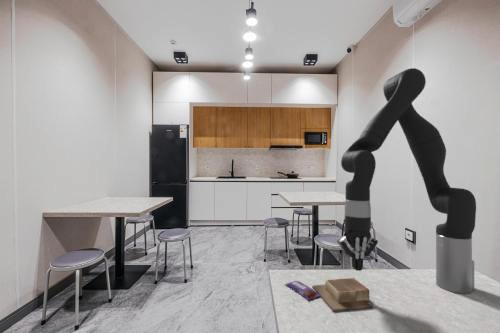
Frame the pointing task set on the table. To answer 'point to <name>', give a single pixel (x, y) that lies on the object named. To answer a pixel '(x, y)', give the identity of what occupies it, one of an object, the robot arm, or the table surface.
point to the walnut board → (343, 305)
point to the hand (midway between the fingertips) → (357, 269)
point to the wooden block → (346, 290)
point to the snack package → (303, 290)
